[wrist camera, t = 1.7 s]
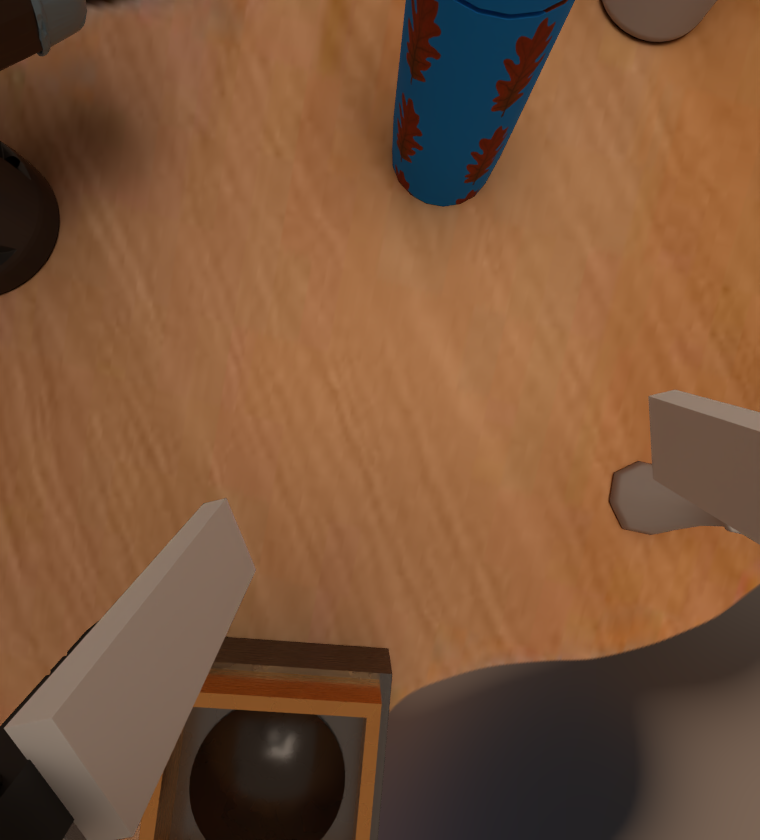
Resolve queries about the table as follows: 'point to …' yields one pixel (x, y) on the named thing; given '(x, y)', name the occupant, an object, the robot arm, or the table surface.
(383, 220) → the table surface
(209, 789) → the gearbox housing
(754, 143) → the table surface
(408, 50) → the thermos
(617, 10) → the cylinder vase
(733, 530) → the flask
